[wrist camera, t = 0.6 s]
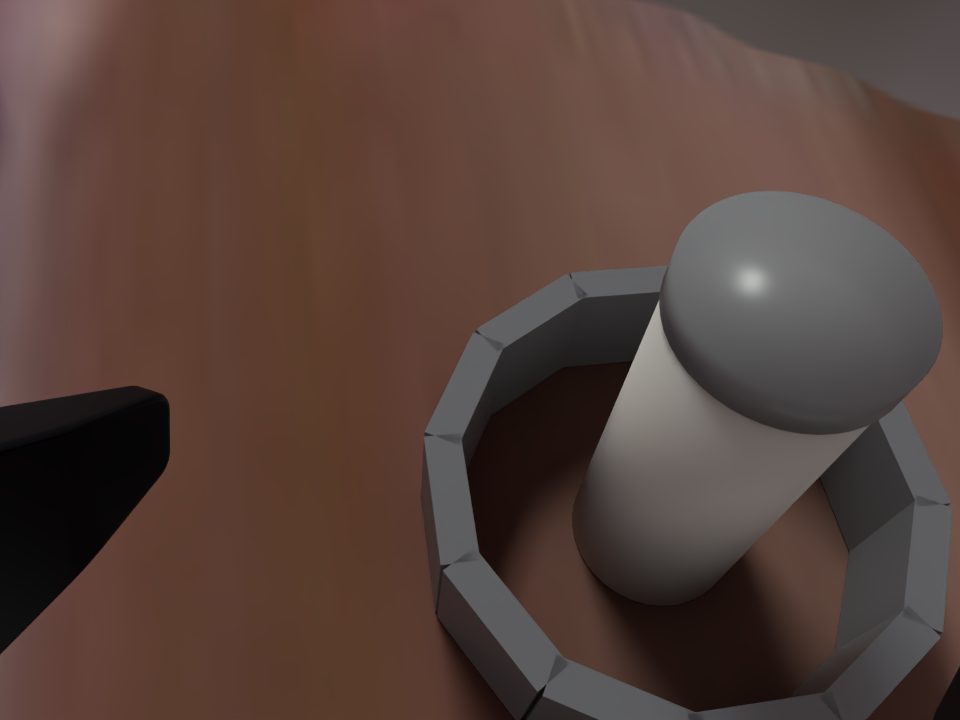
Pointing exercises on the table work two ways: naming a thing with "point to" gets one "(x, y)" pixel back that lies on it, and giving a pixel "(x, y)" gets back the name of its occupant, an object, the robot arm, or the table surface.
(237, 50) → the table surface
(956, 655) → the table surface
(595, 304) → the collar
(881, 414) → the canister
